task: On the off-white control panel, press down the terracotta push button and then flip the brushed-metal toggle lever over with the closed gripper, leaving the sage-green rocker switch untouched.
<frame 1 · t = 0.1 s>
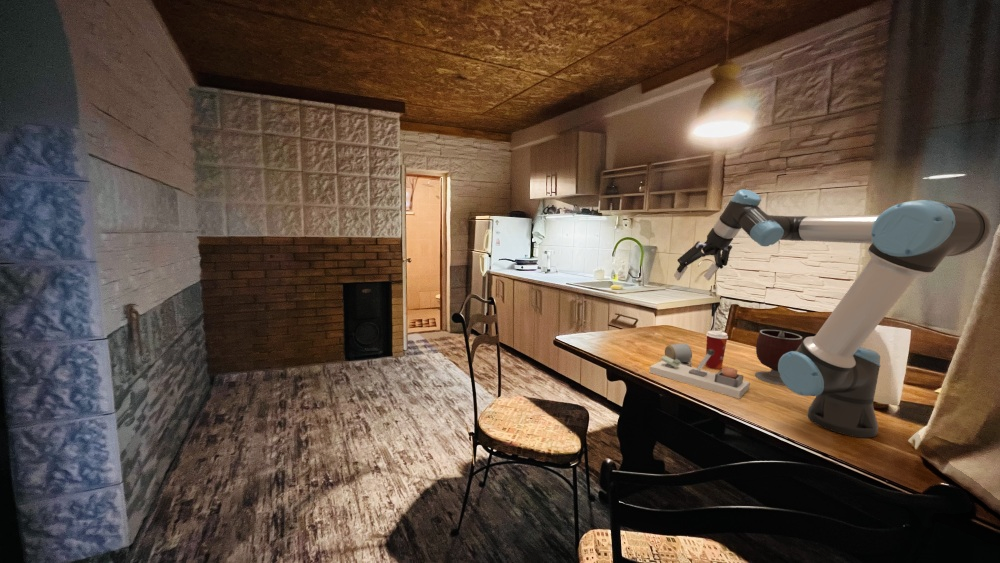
hand: (691, 278, 150), 36 cm above the table, tool tilted 35°, fingers open, 13 cm apart
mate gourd: (774, 380, 147), on the table
green rocker: (670, 360, 150), point 5 cm above the table, hinge at -12.0°
metal lever: (705, 359, 141), point 8 cm above the table, hinge at -25.0°
paper cup: (713, 367, 159), on the table
ceramic mug: (679, 363, 162), on the table
terracotta button: (729, 373, 136), point 6 cm above the table, slide at 0.0 cm
panel: (697, 380, 144), on the table
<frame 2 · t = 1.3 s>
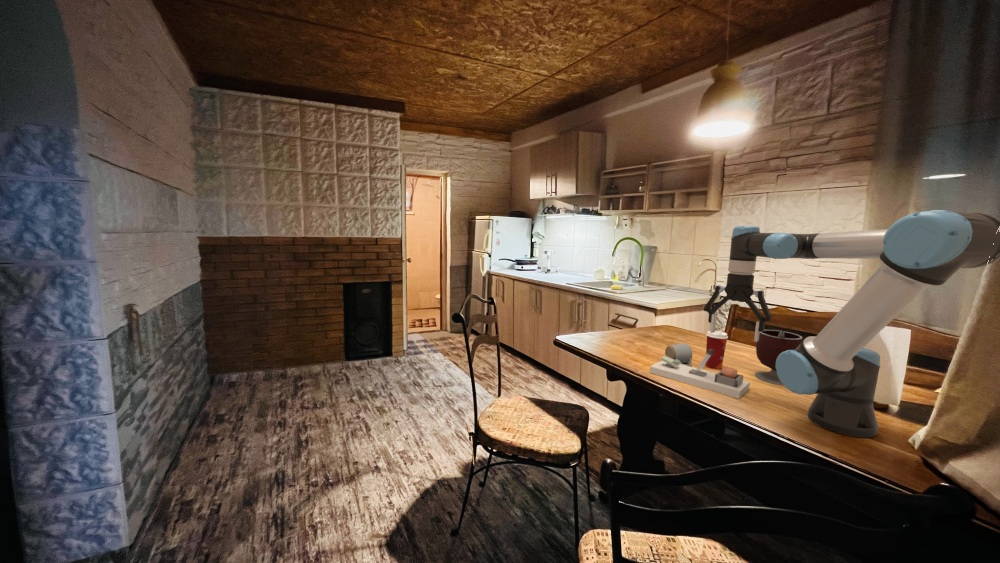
hand: (733, 336, 134), 19 cm above the table, tool pointing down, fingers open, 12 cm apart
nothing on the table moved.
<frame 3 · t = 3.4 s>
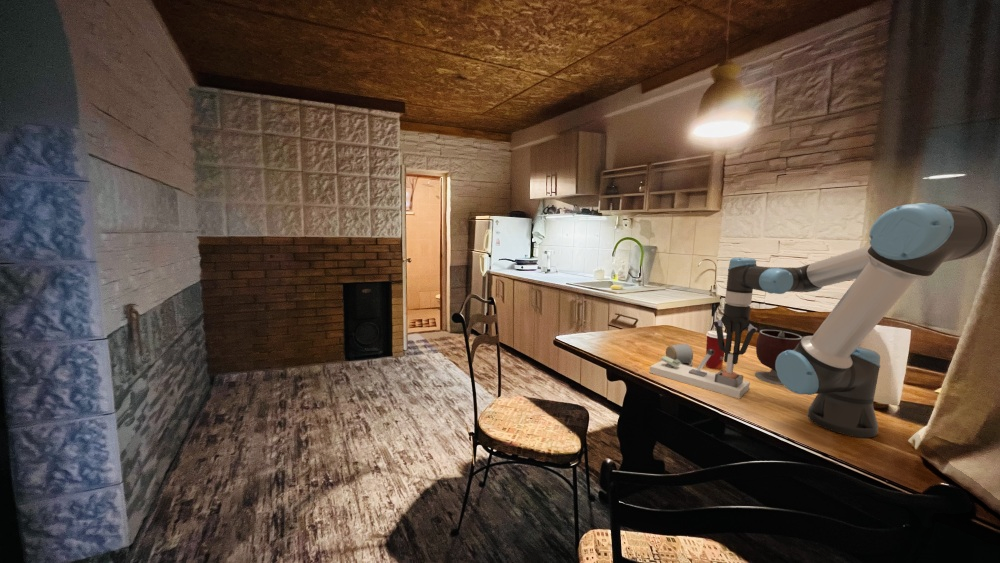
hand: (729, 372, 136), 6 cm above the table, tool pointing down, fingers closed
terracotta button: (729, 376, 136), point 5 cm above the table, slide at 1.2 cm, touching gripper
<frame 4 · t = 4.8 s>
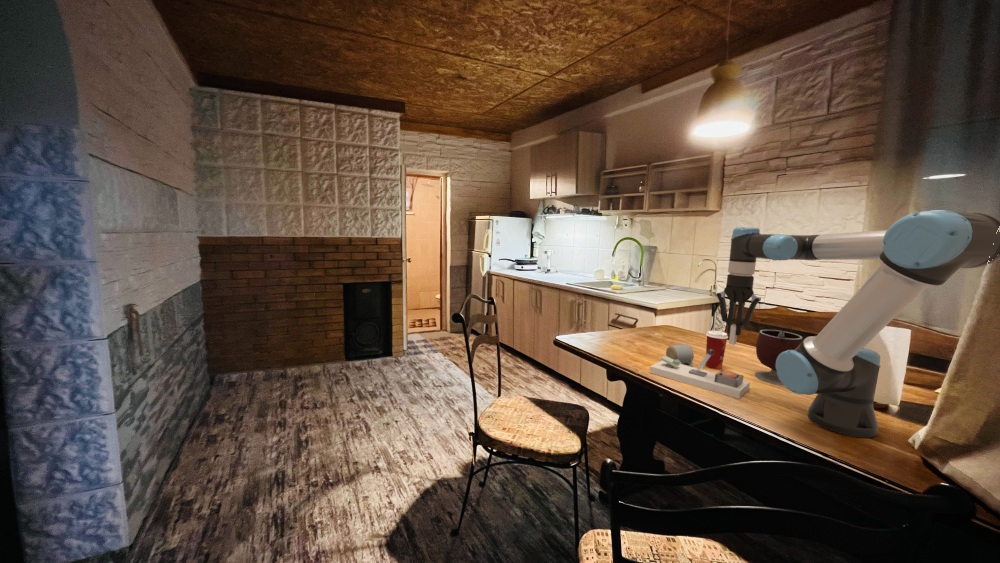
hand: (732, 343, 135), 16 cm above the table, tool pointing down, fingers closed
terracotta button: (729, 376, 136), point 4 cm above the table, slide at 1.3 cm
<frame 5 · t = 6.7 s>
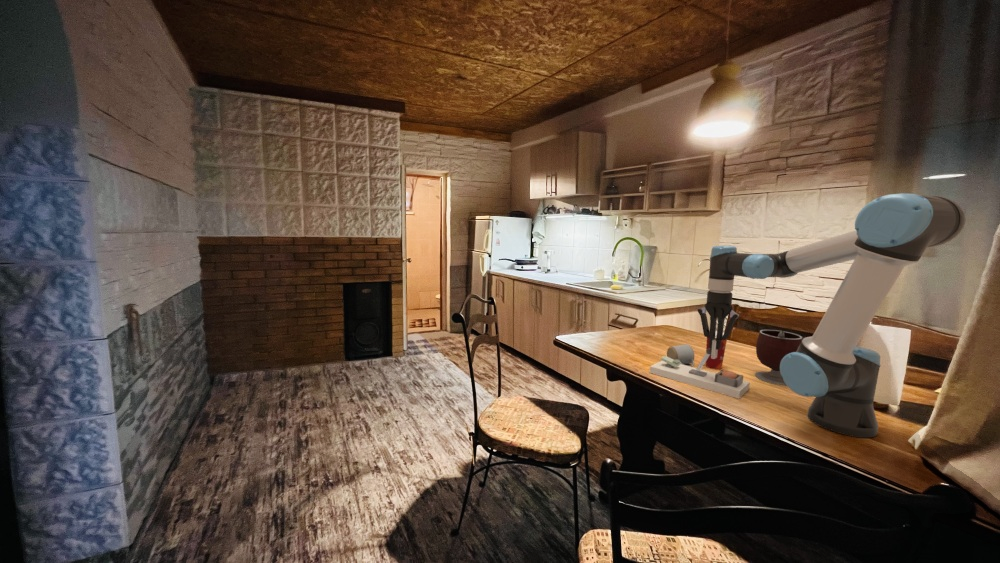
hand: (713, 357, 139), 10 cm above the table, tool pointing down, fingers closed
metal lever: (704, 359, 141), point 8 cm above the table, hinge at -21.9°, touching gripper
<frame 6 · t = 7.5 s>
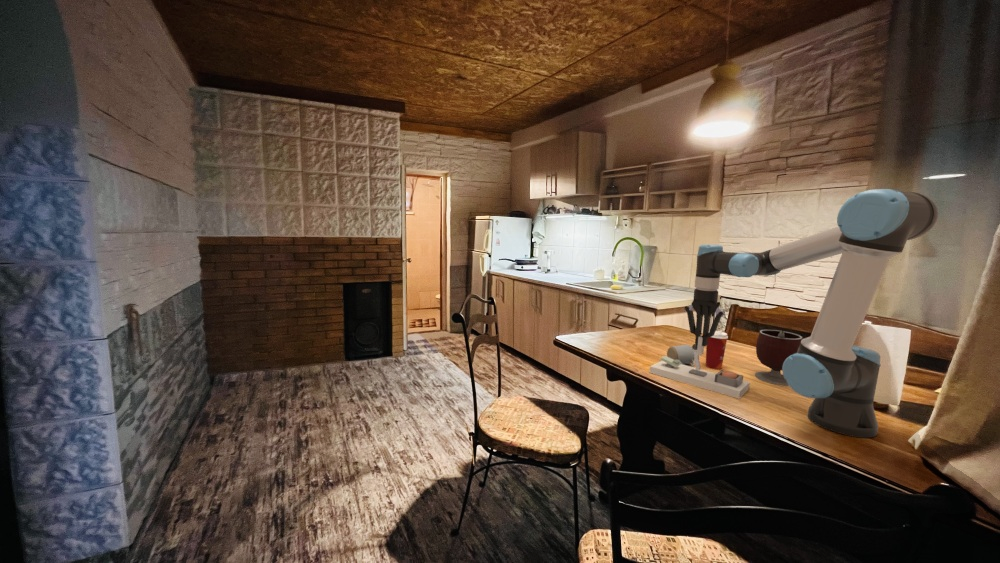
hand: (699, 354, 142), 10 cm above the table, tool pointing down, fingers closed
metal lever: (696, 356, 143), point 9 cm above the table, hinge at 12.0°, touching gripper
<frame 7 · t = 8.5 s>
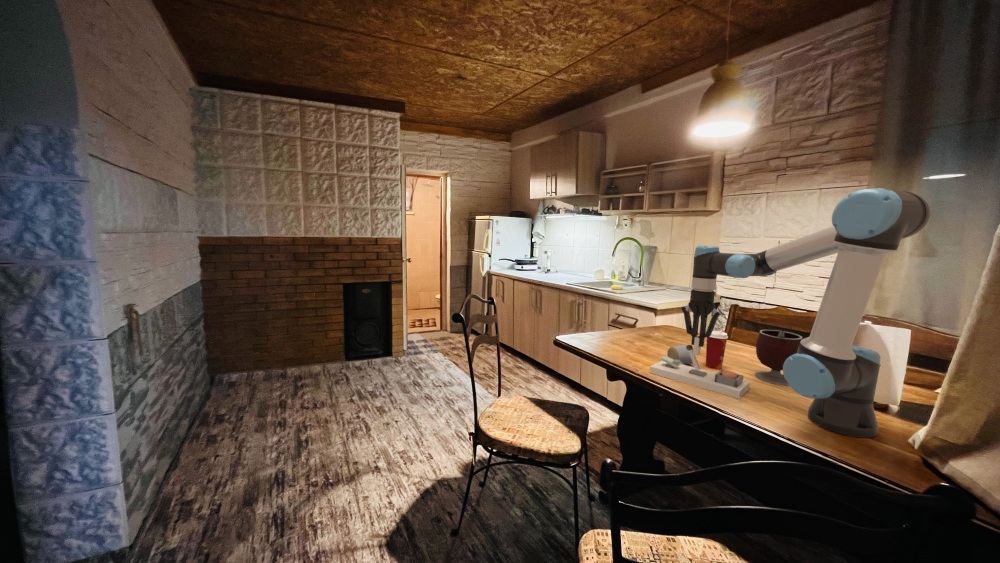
hand: (696, 354, 143), 9 cm above the table, tool pointing down, fingers closed
metal lever: (693, 357, 144), point 8 cm above the table, hinge at 26.7°
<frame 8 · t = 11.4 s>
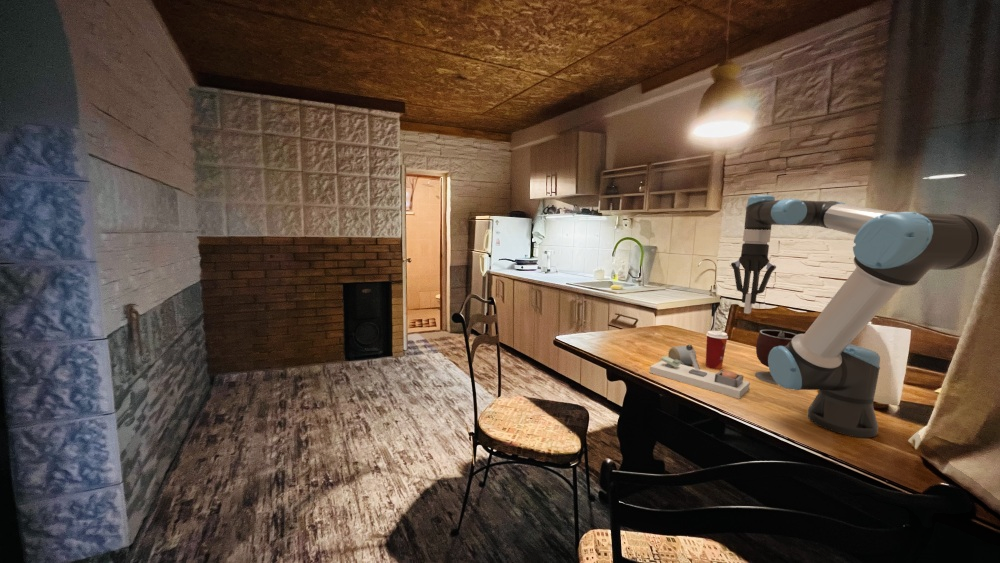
hand: (747, 312, 135), 26 cm above the table, tool pointing down, fingers closed
at the end: terracotta button slide at 1.3 cm; metal lever at +27° (first picture: -25°); green rocker at -12° (first picture: -12°) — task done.
